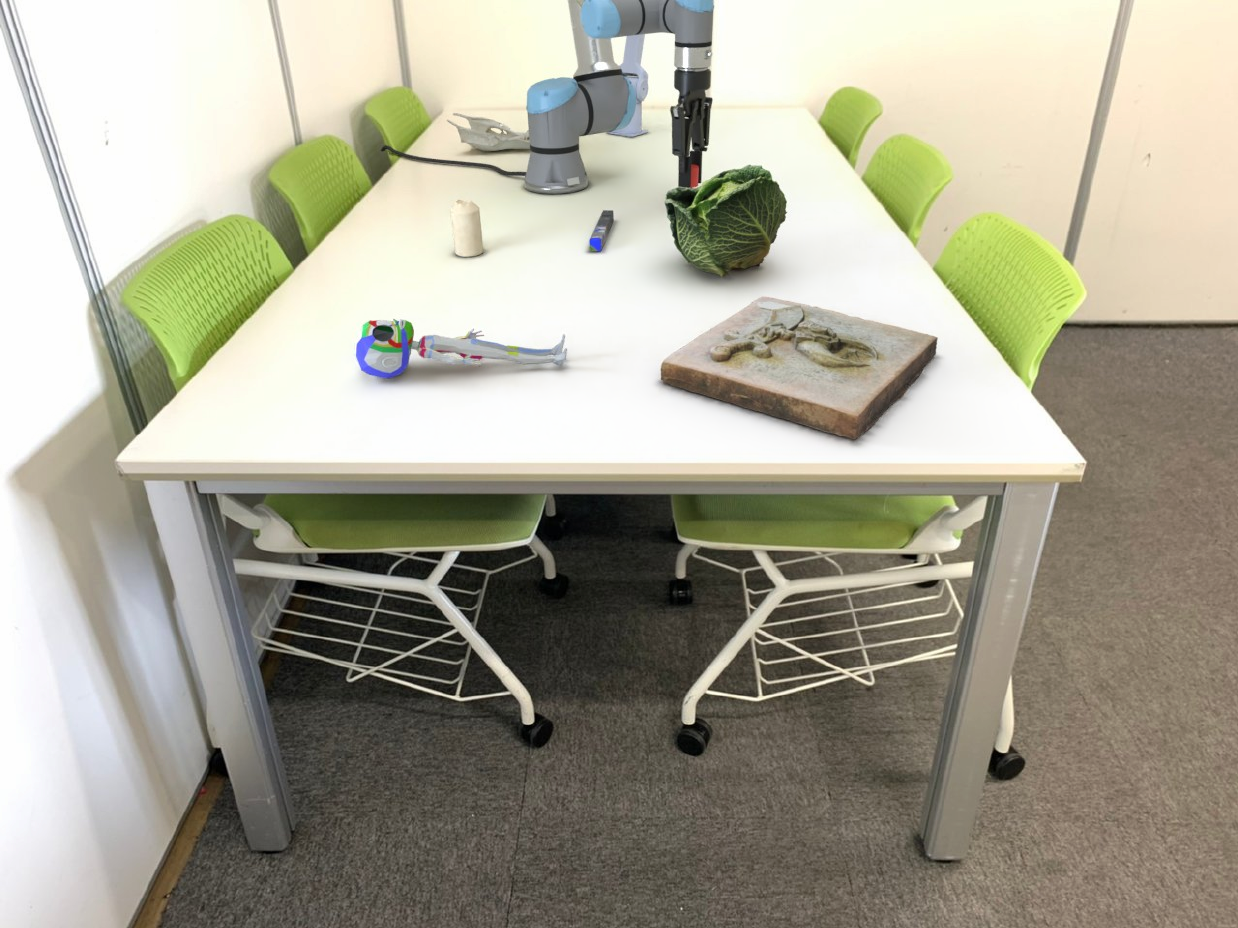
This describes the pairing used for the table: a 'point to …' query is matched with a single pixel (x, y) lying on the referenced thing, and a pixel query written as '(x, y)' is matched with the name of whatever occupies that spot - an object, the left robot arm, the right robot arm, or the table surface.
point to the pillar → (601, 230)
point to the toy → (435, 349)
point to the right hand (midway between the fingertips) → (596, 111)
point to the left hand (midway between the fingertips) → (689, 184)
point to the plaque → (803, 364)
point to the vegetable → (727, 219)
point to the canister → (694, 175)
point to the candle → (466, 228)
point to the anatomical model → (490, 135)
